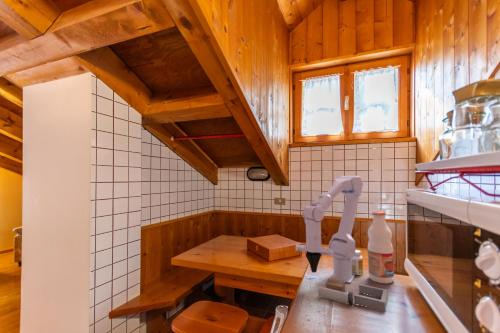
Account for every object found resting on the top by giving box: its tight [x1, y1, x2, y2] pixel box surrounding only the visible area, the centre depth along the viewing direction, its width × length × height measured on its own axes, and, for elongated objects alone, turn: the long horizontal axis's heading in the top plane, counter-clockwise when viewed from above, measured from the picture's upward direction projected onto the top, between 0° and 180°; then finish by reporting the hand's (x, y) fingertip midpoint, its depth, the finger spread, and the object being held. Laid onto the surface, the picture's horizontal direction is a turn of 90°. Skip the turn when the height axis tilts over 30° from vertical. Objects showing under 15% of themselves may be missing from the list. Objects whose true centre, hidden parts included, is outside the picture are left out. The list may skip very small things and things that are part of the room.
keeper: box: [317, 286, 354, 307], centre depth 87 cm, size 12×1×4 cm, turn 57°
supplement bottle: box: [351, 249, 364, 276], centre depth 112 cm, size 5×5×10 cm
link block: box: [325, 278, 346, 292], centre depth 93 cm, size 5×6×4 cm
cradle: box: [353, 283, 389, 313], centre depth 87 cm, size 10×9×3 cm
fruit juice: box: [367, 210, 395, 284], centre depth 105 cm, size 9×9×28 cm
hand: (314, 271), depth 98 cm, fingers closed
